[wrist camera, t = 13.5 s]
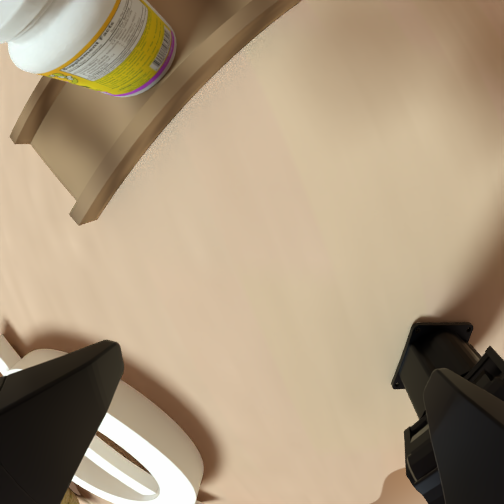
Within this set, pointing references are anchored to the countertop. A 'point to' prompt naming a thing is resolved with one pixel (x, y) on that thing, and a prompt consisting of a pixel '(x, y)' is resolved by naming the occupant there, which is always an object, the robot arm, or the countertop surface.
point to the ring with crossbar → (129, 446)
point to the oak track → (134, 101)
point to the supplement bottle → (90, 42)
